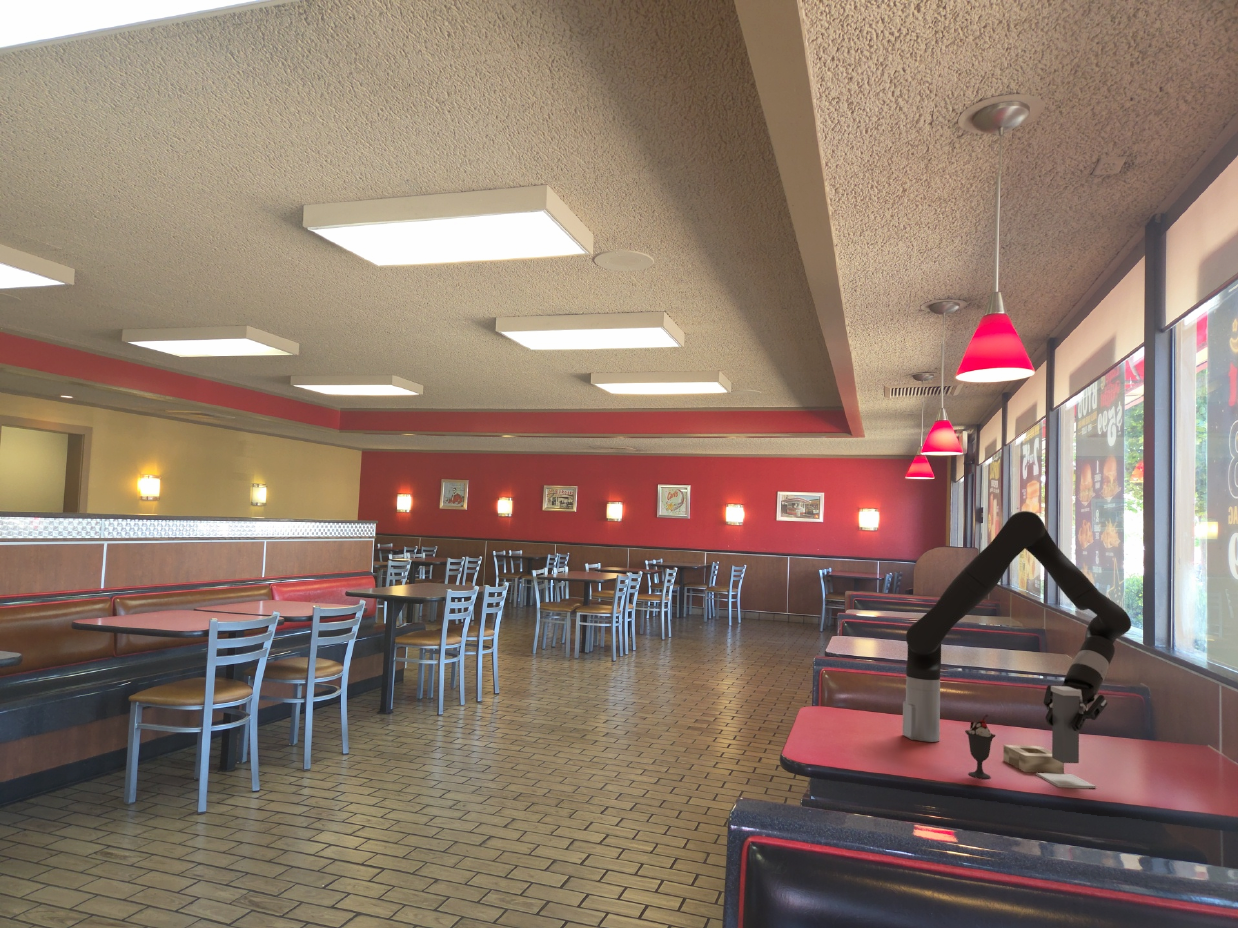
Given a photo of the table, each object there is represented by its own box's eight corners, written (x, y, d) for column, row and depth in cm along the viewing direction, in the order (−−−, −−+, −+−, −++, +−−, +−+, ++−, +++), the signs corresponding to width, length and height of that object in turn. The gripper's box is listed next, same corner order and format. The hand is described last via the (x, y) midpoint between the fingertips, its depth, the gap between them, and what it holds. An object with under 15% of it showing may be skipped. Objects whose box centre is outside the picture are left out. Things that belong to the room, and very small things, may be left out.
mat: (1058, 787, 181) (1058, 784, 181) (1036, 775, 190) (1036, 772, 190) (1095, 788, 181) (1095, 785, 182) (1072, 776, 190) (1072, 774, 190)
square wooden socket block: (1024, 771, 193) (1024, 755, 193) (1003, 760, 203) (1003, 744, 203) (1063, 773, 193) (1063, 756, 193) (1040, 761, 203) (1040, 746, 203)
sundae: (993, 781, 183) (993, 717, 184) (962, 776, 186) (963, 712, 188) (996, 775, 188) (997, 712, 190) (966, 769, 192) (967, 708, 193)
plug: (1062, 763, 184) (1063, 690, 185) (1050, 757, 189) (1050, 685, 190) (1080, 763, 184) (1081, 690, 186) (1067, 757, 189) (1068, 686, 190)
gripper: (1052, 658, 198) (1026, 709, 191) (1112, 667, 186) (1086, 722, 179) (1063, 677, 201) (1038, 729, 193) (1123, 688, 189) (1098, 743, 181)
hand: (1061, 725), depth 186 cm, fingers closed on plug, 5 cm apart
